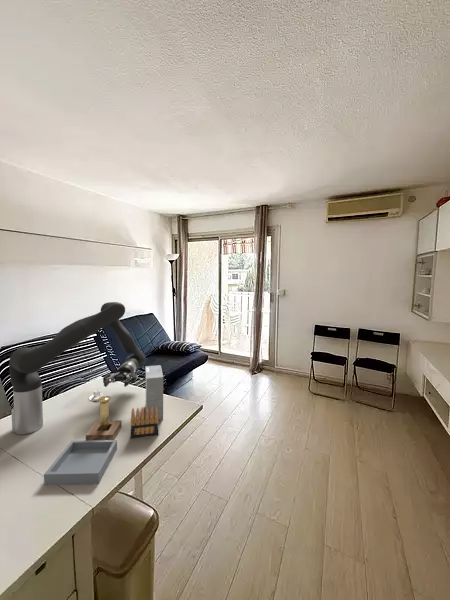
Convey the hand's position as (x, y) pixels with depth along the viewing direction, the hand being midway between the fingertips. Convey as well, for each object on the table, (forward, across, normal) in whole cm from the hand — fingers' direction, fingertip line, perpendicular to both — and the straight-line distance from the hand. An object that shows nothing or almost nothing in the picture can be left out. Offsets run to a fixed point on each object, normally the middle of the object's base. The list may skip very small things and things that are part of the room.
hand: (115, 384), depth 113 cm
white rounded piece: (-18, -18, +16) cm, 30 cm away
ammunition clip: (+13, +16, +16) cm, 26 cm away
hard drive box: (-5, +16, +16) cm, 23 cm away
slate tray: (+29, 0, +15) cm, 33 cm away
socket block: (+12, 0, +15) cm, 20 cm away
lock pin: (+12, 0, +15) cm, 20 cm away
